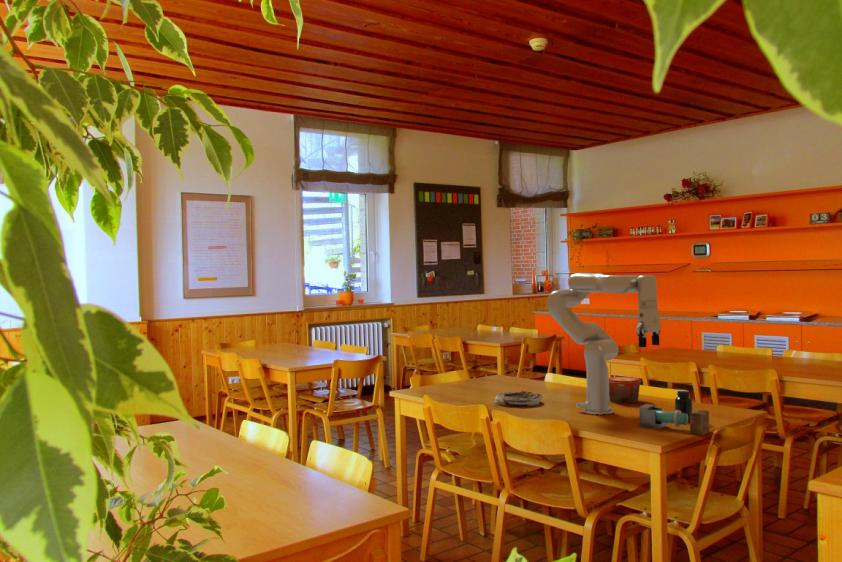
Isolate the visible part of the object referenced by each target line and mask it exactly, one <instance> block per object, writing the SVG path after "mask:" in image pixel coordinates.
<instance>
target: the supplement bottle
mask: <svg viewBox="0 0 842 562" xmlns="http://www.w3.org/2000/svg"><path fill="white" fill-rule="evenodd" d="M676 395H677V397H675V398H674V412H676V410H680V411H681V413H685V414H688V422H690V413H692V412H694V409H693V399H692V398H691V397H690V395H691V394H690V391H689V390H677V393H676Z"/></svg>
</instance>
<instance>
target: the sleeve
mask: <svg viewBox="0 0 842 562" xmlns="http://www.w3.org/2000/svg"><path fill="white" fill-rule="evenodd" d="M655 405H656V404H648V403H645V404H643V405H640V406H639V408H638V410H639V411H638V412H639V413H638V414H639V415H638V416H639V419H638V420H639V428H645V427H646V428H647V429H652V428H654V429H653V430H659V429H660V430H662V429H665V428H667V427H668V423H665V422H657V421H656V410H660V411H663V407H661V406H660V407H659V406H658V407H657V406H655ZM649 409H651V410H649ZM666 426H667V427H666ZM664 427H665V428H664Z"/></svg>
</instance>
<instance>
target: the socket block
mask: <svg viewBox="0 0 842 562" xmlns="http://www.w3.org/2000/svg"><path fill="white" fill-rule="evenodd" d="M689 427H690V428H689V431H690V432H689V434H690V435H695V436H704V435H705V434H708V433H710V411H709V410H704V409H703V410H702V409H696V410H693V412H692V413H690V421H689Z"/></svg>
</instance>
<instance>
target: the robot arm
mask: <svg viewBox="0 0 842 562" xmlns="http://www.w3.org/2000/svg"><path fill="white" fill-rule="evenodd" d="M567 284H568V287H569V288H568V289H567V288H565V289H557V290H554V291H552V292H550V294H549V295H548V297H547V301H546V305H547V306H546V307H547V311H548V312H549V314H550V316H551V318H552V319H553V320H554V321H555V322H556V323H557V324H558V325H559V326H560V327H561V328H562V329H563V331H565V332H566V334H567V335H568V336H569V337H570V338H571V339H572V340H573V341H574V342H575V343H576V344H578V345H585V346H584V351H583V354H584V355H583V356H584V357H583V358H584V360H585V361H584V362H585V370H586V372H585V373H586V400H585V401H584V402H576V404H575V405H576V406H575V407H576V408H581V409H583V413H585V414H590V415H596V414H598V415H602V416H603V414H605V415H610V414H613V413H614V409H613V408H611V407H610V398H609V378H610V377H609V375H610V372H609V366H608V364H607V361H610V360H613V359H615V358H616V357H617V356H618V354H619V345H618V344H617V342H616V341H615V339H613V338H612V337H611V336H610V334H609V333H608V332H607V331H605V329H604V328H602V326H600V324H597V323H596V322H594V321H593V322H592V321H590V322H589V321H588V322H585V321H583V320H582V319H580V318H579V317H578V315H577V314H576V313H575V312H573V311H572V310H570V309H569V308H575V307H577V306H579V305H580V304H581V303H582V302H583V301H584V300H585V299H586V298H587V297H588V296H589V295H590V294H591V293H599V294H604V293H605V294H634V293H637V303H638V306H637V307H638V312H637V325H636V327H635V331H636V335H637V338H638V347H639V348H647V337H646V336H647V333H648V334H649V333H651V334H652V335H651V345H653V346H660V335H661V328H662V323H661V320H660V319H661V318H660V313H659V312H660V311H659V308H658V291H657V290H658V289H657V287H658V285H657V277H656V276H655V275H653V274H647V275H646V274H643V275H642V274H641V275H638V274H627V275H624V274H623V275H611V274H609V275H608V274H606V275H605V274H604V273H601V272H597V273H594V272H593V273H592V272H576V273H572V274H571V275H570V276H569V278H568V281H567Z"/></svg>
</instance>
